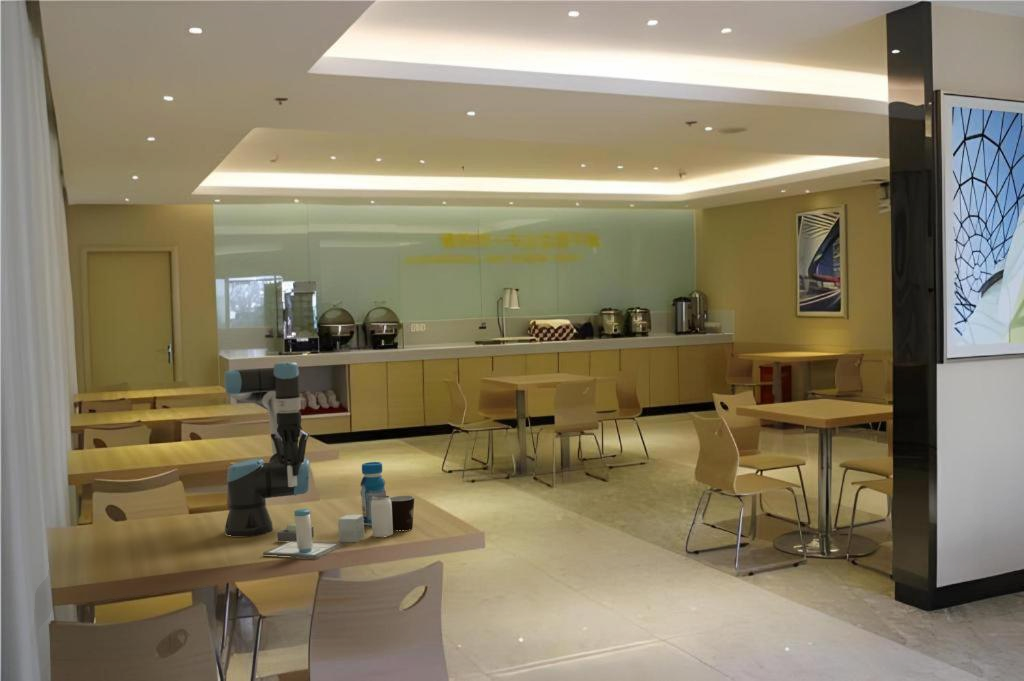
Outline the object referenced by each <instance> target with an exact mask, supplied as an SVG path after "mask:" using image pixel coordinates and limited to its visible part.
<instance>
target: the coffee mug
mask: <svg viewBox="0 0 1024 681" xmlns="http://www.w3.org/2000/svg"><path fill="white" fill-rule="evenodd" d="M389 497H390V496H389ZM390 500H391V504H392V521H393V530H398V531H399V530H401V531H402V530H409V529H411V530H413V529H412V528H414V527H413V526H414V524H413V523H414V510H415V496H413V495H396V496H391V497H390ZM409 531H410V530H409ZM402 532H403V531H402Z"/></svg>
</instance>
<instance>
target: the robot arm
mask: <svg viewBox="0 0 1024 681" xmlns="http://www.w3.org/2000/svg"><path fill="white" fill-rule="evenodd" d="M299 376H300V371H299V364H298V363H297V362H296V361H283V362H282V361H281V362H276V363H274V365H273V367H268V368H267V367H265V368H251V369H233V370H226V371H225V372H224V387H225V388H224V389H225V393H226V394H227V395H229V396H230V397H231V398H232V399H234V400H238V401H242V402H248V403H249V402H250V403H251V402H252V403H255V402H262V405H263V406H264V408H266V409H267V416H268V424H269V432H270V439H271V450H272V455H271V456H270V458H269V461H268V462H265V460H264V459H263V458H252V459H246V460H242V461H239V462H236V463H233V464H231V465H230V466H229V467H228V468H227V472H226V474H227V476H226V477H227V479H226V482H227V492H228V493H227V494H228V507H229V508H228V509H229V511H228V515H227V519H226V522H225V526H224V534H225V533H226V534H227V535H231V536H248V537H253V536H252V535H255V536H259V535H258V534H261V535H263V533H264V534H267V533H266V532H268V533H270V532H272V531H273V530H272V529H273V528H274V527H273V521H272V518H271V516H270V513H269V511H268V508H267V504H266V503H267V502H266V501H267V500H266V499H271V498H280V497H289V496H298V495H299V496H300V495H304V494H307V492H308V491H309V488H310V459H309V458H305V454H306V447H307V442H308V439H309V437H310V433H308V432H305V431H304V430H303V428H302V412H301V411H300V410H301V408H302V407H301V404H302V403H301V395H300V377H299ZM271 530H272V531H271ZM269 531H270V532H269Z"/></svg>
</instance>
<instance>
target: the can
mask: <svg viewBox="0 0 1024 681" xmlns="http://www.w3.org/2000/svg"><path fill="white" fill-rule="evenodd" d="M371 518H372V525H371V531H372V532H371V533H372V536H373V537H374V536H375V537H374V538H376V537H384V536H389V537H391V536H393V534H394V531H393V521H392V504H391V500H390V495H386V496H376V497H373V498H372V501H371ZM390 535H391V536H390ZM384 538H385V537H384Z"/></svg>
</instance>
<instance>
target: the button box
mask: <svg viewBox="0 0 1024 681" xmlns="http://www.w3.org/2000/svg"><path fill="white" fill-rule="evenodd" d="M311 531H312V538H314V537H315V534H314V532H315V531H314V526H311ZM276 536H277V542H278V541H297V537H296V532H287V527H286V528H284V529H282V530H280V531H278V532H276ZM313 536H314V537H313Z"/></svg>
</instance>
